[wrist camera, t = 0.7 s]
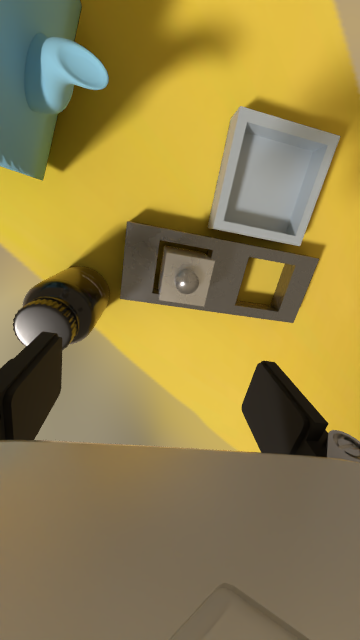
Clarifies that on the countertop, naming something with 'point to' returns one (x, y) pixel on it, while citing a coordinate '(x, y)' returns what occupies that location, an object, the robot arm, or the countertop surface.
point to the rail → (215, 273)
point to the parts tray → (270, 177)
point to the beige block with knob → (184, 276)
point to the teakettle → (39, 77)
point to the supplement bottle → (63, 306)
